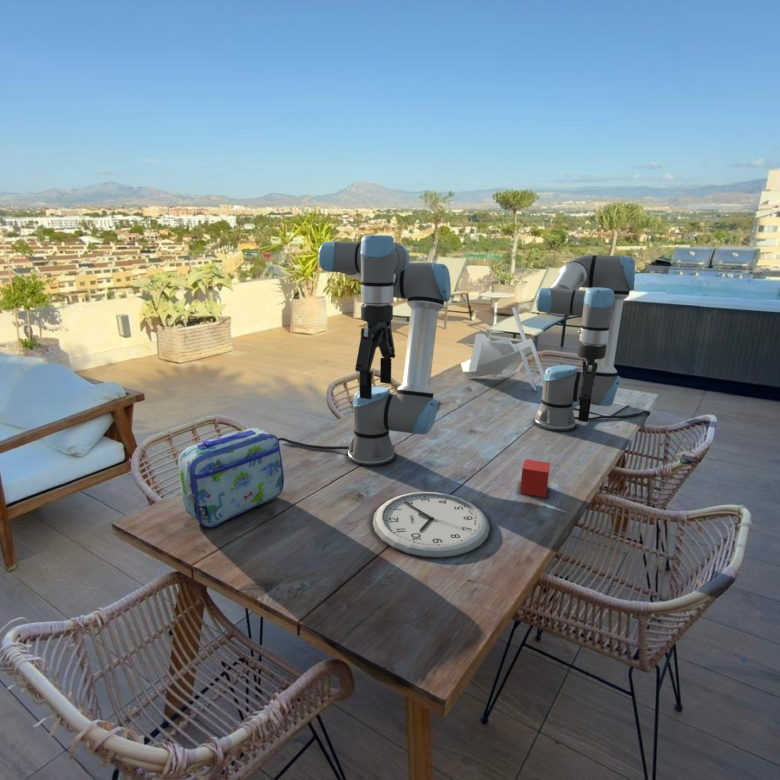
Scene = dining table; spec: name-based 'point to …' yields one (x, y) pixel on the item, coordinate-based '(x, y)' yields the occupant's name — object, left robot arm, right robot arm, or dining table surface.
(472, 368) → the white plastic object
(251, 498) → the lunch box
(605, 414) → the invitation card
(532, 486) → the brick
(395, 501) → the wall clock
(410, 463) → the dining table surface
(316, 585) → the dining table surface
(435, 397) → the fork
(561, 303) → the right robot arm
